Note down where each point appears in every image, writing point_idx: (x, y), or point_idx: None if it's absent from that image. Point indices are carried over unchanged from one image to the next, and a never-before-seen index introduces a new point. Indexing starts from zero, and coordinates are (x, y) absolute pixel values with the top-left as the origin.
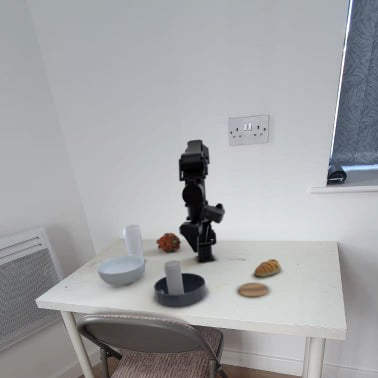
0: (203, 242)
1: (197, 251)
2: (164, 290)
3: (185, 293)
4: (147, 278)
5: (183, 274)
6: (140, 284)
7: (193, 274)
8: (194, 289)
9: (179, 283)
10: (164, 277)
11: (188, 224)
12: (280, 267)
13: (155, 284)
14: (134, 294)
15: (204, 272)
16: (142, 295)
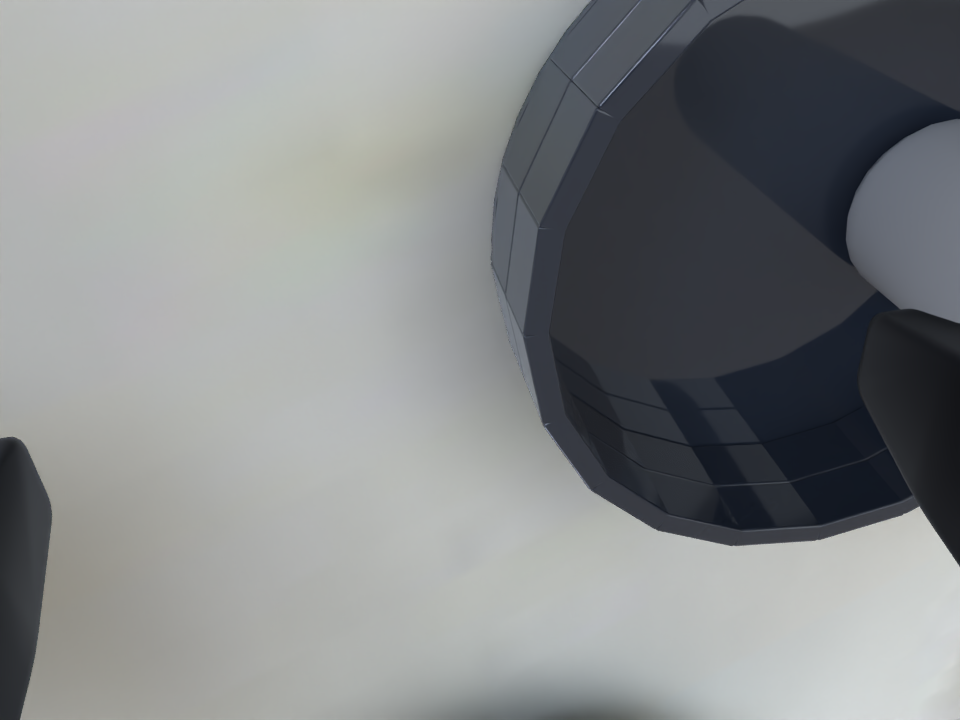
0: (36, 494)
1: (926, 315)
2: (716, 419)
3: (790, 165)
4: (446, 684)
5: (555, 369)
6: (580, 665)
7: (568, 225)
8: (680, 95)
9: None
10: (688, 526)
11: None
12: None
13: (871, 518)
14: (773, 604)
15: (65, 192)
16: (793, 543)
